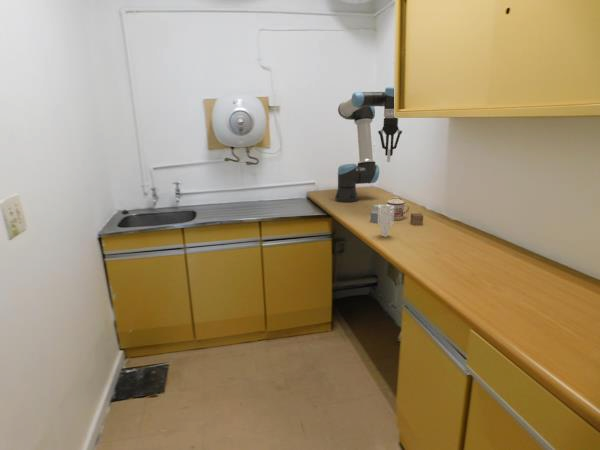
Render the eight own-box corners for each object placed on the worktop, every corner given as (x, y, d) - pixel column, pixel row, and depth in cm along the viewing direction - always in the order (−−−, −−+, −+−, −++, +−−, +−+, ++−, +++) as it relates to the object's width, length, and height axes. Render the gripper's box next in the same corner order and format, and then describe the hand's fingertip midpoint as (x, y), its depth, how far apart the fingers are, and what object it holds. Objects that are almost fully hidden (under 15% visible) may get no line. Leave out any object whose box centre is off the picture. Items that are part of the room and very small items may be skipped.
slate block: (373, 219, 198) (373, 210, 197) (382, 220, 196) (382, 211, 195) (370, 222, 194) (370, 212, 193) (379, 223, 192) (380, 213, 191)
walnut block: (410, 222, 192) (410, 213, 191) (420, 222, 192) (420, 213, 191) (412, 225, 188) (413, 215, 186) (422, 225, 187) (423, 215, 186)
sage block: (372, 213, 212) (372, 204, 211) (380, 212, 213) (381, 204, 212) (375, 215, 207) (376, 206, 206) (384, 214, 208) (384, 206, 207)
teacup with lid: (389, 220, 196) (390, 198, 193) (384, 216, 205) (385, 195, 202) (411, 219, 197) (412, 198, 194) (405, 215, 206) (407, 194, 203)
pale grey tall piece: (379, 238, 168) (380, 206, 163) (375, 233, 174) (376, 202, 170) (394, 237, 168) (396, 205, 164) (390, 233, 175) (391, 202, 171)
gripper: (377, 117, 199) (375, 162, 206) (403, 117, 195) (400, 162, 202) (379, 117, 206) (377, 160, 213) (403, 117, 202) (401, 161, 209)
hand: (388, 161), depth 208 cm, fingers closed
